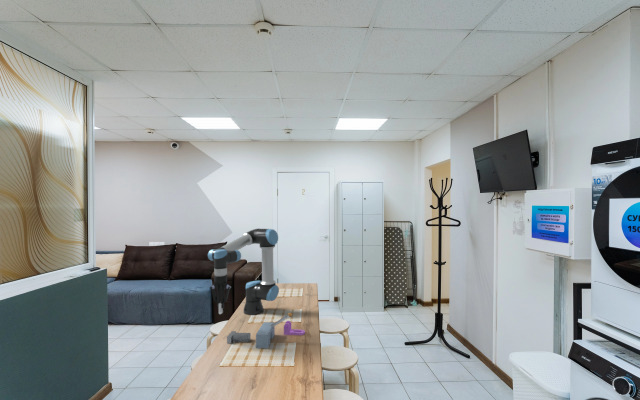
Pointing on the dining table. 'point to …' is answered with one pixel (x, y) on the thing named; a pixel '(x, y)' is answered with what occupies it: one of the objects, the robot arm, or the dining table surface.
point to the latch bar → (281, 320)
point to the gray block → (238, 337)
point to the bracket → (292, 330)
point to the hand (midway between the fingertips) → (220, 313)
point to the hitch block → (265, 335)
